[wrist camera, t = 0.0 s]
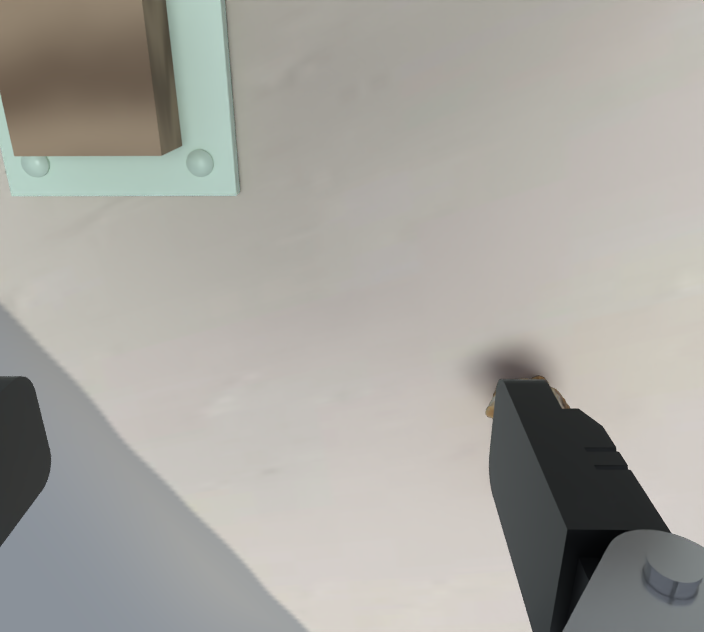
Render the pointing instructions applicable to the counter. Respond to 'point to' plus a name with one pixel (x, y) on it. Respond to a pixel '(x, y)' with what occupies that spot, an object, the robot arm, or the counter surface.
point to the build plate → (195, 124)
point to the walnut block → (88, 78)
